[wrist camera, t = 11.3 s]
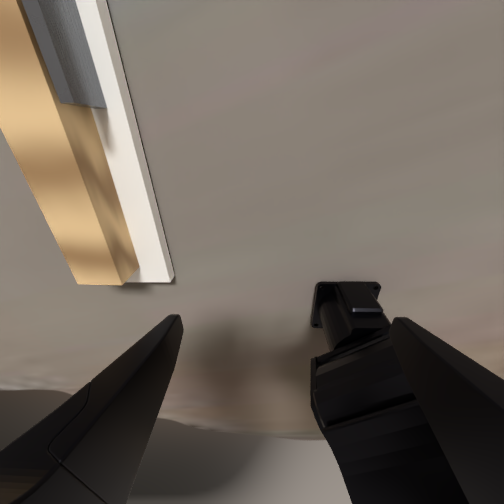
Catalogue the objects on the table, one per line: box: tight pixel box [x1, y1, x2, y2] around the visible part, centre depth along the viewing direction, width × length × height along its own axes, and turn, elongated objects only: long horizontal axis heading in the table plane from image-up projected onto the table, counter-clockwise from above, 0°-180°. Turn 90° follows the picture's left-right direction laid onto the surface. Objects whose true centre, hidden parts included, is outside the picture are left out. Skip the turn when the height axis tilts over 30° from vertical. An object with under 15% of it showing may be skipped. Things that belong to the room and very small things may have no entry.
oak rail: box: [0, 0, 140, 285], centre depth 16 cm, size 18×4×3 cm, turn 0°
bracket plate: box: [22, 0, 175, 282], centre depth 16 cm, size 22×9×4 cm, turn 2°
